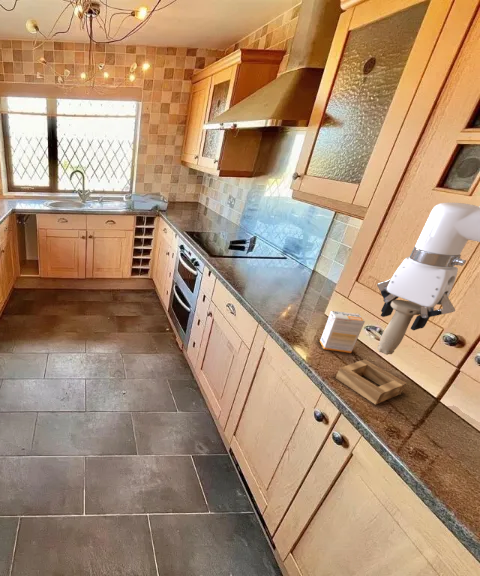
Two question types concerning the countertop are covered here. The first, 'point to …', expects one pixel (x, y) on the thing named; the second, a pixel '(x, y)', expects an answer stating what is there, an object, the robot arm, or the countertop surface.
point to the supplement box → (341, 331)
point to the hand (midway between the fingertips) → (400, 321)
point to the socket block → (387, 382)
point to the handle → (397, 325)
